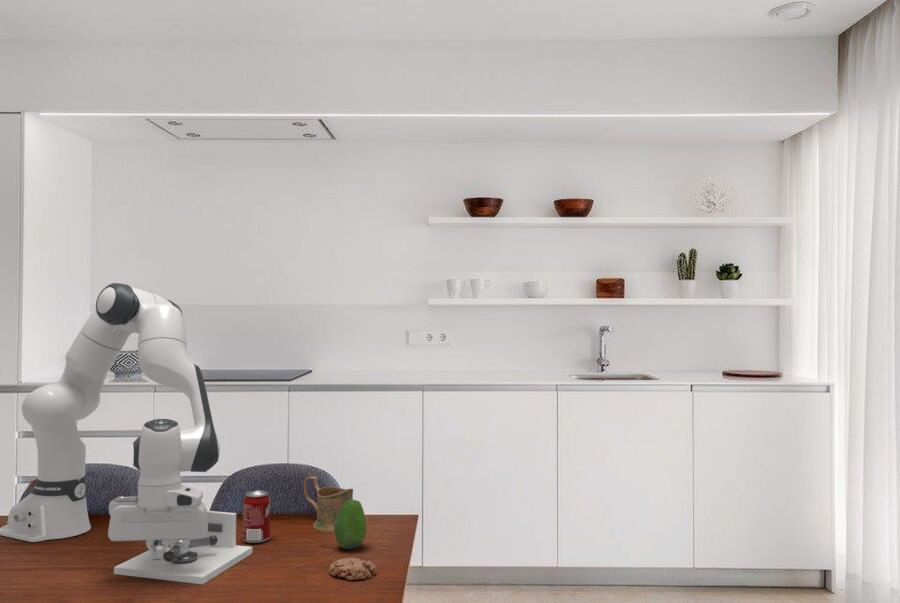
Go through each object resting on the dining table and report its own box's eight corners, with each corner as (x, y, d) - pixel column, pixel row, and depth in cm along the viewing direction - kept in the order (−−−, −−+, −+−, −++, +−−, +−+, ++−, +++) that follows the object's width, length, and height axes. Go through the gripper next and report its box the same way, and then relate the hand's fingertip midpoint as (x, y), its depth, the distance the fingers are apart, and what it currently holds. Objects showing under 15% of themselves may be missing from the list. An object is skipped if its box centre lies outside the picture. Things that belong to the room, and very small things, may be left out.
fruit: (326, 548, 180) (327, 499, 180) (351, 541, 186) (352, 494, 186) (347, 556, 175) (348, 505, 175) (372, 548, 181) (373, 499, 181)
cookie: (330, 566, 168) (330, 553, 168) (376, 566, 168) (377, 553, 168) (325, 583, 158) (326, 569, 158) (375, 583, 159) (375, 569, 159)
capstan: (132, 572, 157) (132, 549, 157) (154, 551, 170) (154, 530, 170) (202, 571, 158) (202, 549, 158) (218, 551, 171) (219, 530, 171)
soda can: (262, 545, 181) (263, 497, 182) (237, 543, 183) (238, 495, 183) (274, 537, 188) (275, 490, 188) (250, 535, 189) (250, 489, 190)
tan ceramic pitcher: (319, 513, 211) (320, 471, 211) (364, 524, 201) (365, 480, 201) (289, 522, 202) (289, 479, 202) (334, 534, 191) (335, 488, 192)
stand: (113, 574, 161) (114, 530, 161) (172, 544, 181) (173, 506, 181) (202, 584, 155) (203, 539, 156) (252, 553, 176) (253, 513, 176)
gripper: (104, 500, 154) (102, 566, 154) (204, 497, 157) (203, 562, 157) (113, 493, 161) (112, 556, 160) (210, 491, 163) (209, 553, 163)
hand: (158, 559), depth 159 cm, fingers closed
